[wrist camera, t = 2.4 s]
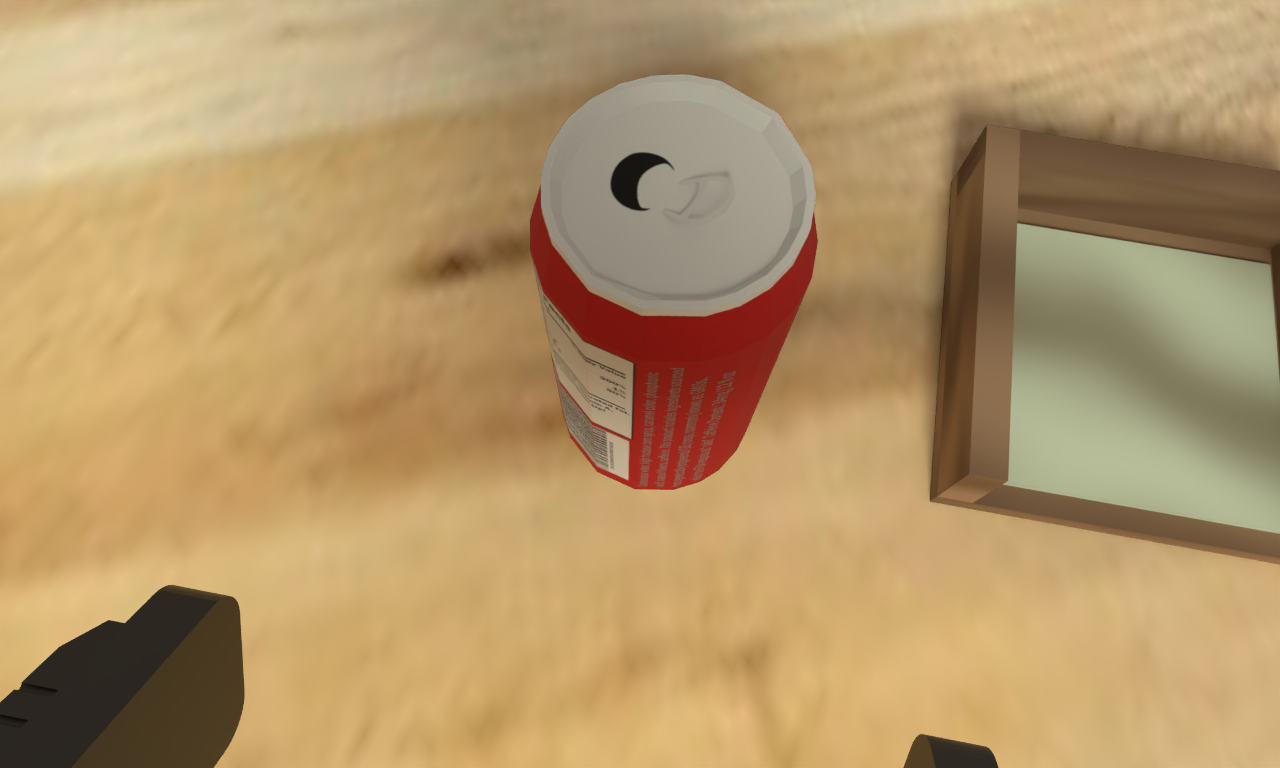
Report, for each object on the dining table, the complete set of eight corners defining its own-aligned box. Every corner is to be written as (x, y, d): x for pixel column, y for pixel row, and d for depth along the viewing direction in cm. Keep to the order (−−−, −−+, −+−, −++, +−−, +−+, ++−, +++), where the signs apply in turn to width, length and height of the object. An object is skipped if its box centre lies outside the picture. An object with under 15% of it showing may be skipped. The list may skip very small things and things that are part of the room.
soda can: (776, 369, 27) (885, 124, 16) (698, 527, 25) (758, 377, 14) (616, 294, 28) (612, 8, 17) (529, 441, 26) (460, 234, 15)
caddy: (1316, 570, 25) (1407, 551, 22) (930, 501, 26) (969, 474, 23) (1287, 237, 29) (1360, 183, 26) (951, 182, 30) (986, 124, 27)
